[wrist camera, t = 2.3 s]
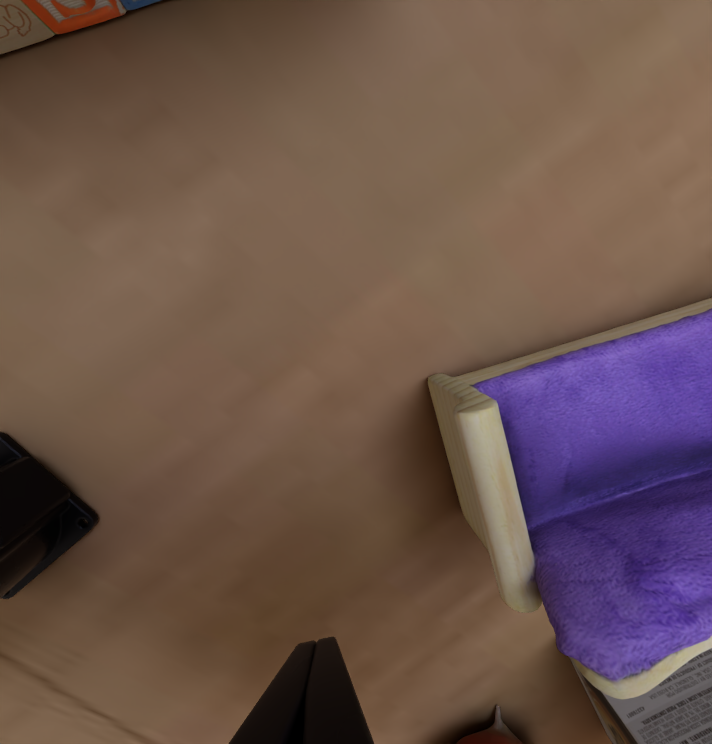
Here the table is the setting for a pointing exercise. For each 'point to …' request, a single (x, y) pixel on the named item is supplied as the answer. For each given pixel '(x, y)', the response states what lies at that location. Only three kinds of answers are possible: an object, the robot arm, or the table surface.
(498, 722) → the fruit
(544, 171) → the table surface
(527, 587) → the toy sofa
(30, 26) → the stack of blocks
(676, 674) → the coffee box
